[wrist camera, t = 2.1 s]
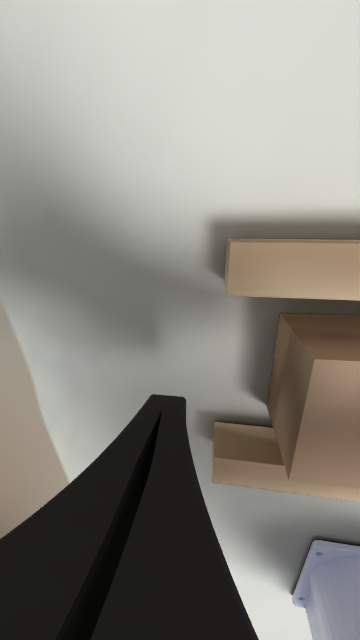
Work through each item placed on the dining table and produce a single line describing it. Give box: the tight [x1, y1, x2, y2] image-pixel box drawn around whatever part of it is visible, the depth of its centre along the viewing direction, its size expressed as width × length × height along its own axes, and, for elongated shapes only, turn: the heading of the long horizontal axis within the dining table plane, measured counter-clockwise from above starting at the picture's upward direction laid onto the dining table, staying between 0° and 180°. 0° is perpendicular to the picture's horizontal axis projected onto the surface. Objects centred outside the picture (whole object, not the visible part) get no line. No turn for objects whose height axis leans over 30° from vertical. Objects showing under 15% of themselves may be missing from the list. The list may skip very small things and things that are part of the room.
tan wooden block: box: [267, 313, 360, 489], centre depth 11 cm, size 6×6×4 cm
